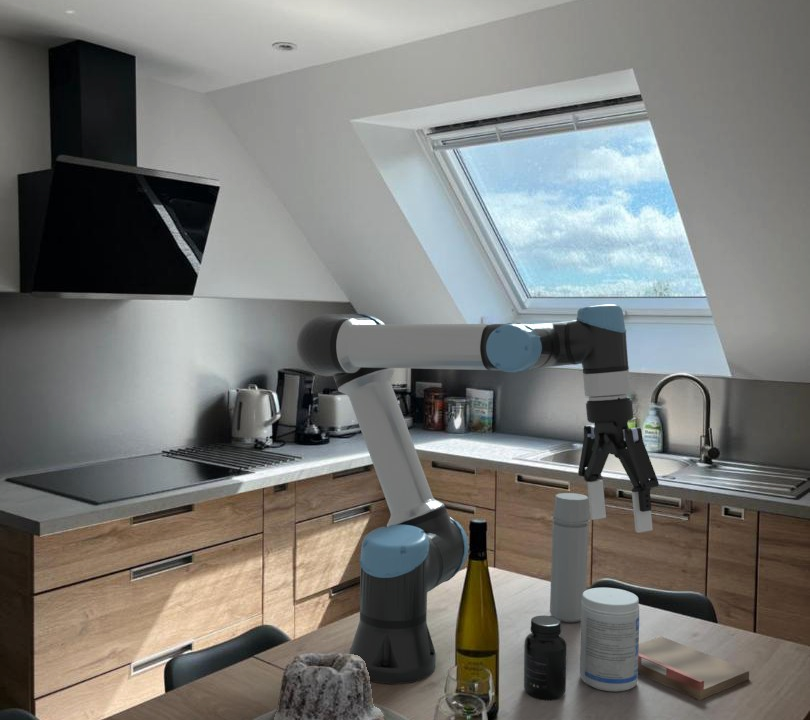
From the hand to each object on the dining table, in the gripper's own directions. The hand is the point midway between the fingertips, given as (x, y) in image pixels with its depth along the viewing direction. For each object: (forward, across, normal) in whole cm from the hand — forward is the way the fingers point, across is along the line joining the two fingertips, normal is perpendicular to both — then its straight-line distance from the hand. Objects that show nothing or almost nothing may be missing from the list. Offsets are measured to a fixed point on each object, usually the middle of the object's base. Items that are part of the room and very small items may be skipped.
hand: (620, 524), depth 139 cm
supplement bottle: (+26, +3, +16) cm, 30 cm away
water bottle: (+25, +32, -6) cm, 41 cm away
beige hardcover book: (+28, +4, -11) cm, 30 cm away
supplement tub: (+27, +3, +3) cm, 27 cm away
